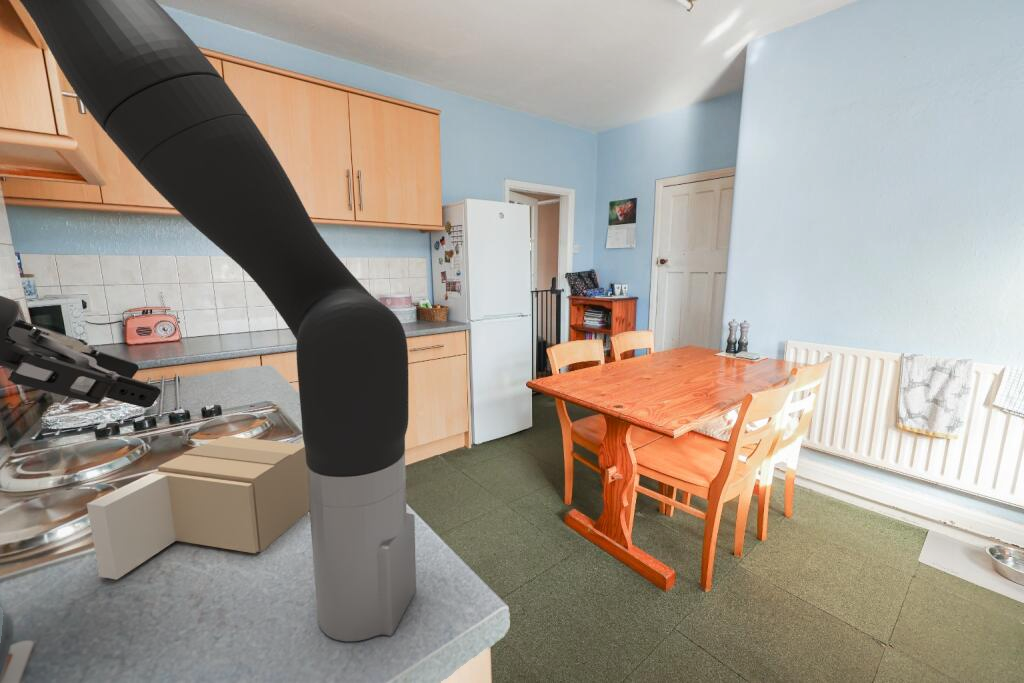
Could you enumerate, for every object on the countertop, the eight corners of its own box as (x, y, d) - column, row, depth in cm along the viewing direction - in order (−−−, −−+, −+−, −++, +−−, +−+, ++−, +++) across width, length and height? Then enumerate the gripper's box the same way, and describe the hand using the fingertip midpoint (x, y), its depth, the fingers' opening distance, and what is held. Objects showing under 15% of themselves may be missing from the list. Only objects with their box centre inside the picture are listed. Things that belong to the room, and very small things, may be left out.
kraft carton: (312, 508, 63) (307, 443, 61) (260, 552, 53) (253, 477, 52) (230, 496, 66) (223, 434, 64) (167, 537, 56) (157, 464, 54)
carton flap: (258, 550, 53) (252, 483, 51) (204, 596, 46) (195, 520, 44) (164, 535, 56) (155, 471, 54) (99, 576, 48) (86, 503, 47)
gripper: (-58, 291, 30) (187, 373, 43) (-59, 262, 38) (147, 338, 51) (-139, 387, 28) (140, 442, 41) (-121, 336, 36) (107, 395, 49)
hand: (144, 385), depth 46 cm, fingers open, 8 cm apart
